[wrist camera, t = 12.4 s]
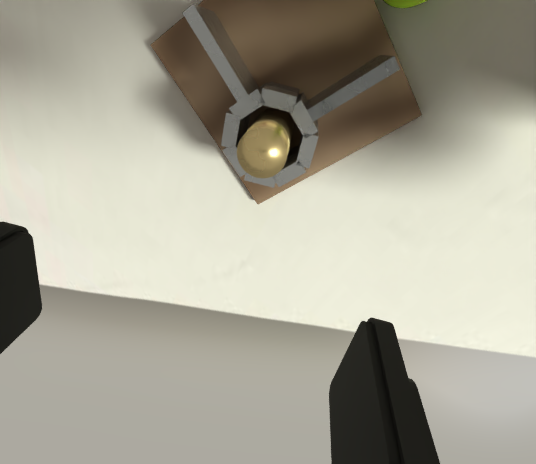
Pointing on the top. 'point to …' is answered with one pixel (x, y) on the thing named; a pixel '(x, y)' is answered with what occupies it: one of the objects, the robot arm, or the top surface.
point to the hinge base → (295, 70)
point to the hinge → (276, 96)
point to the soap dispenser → (404, 3)
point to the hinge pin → (266, 143)
